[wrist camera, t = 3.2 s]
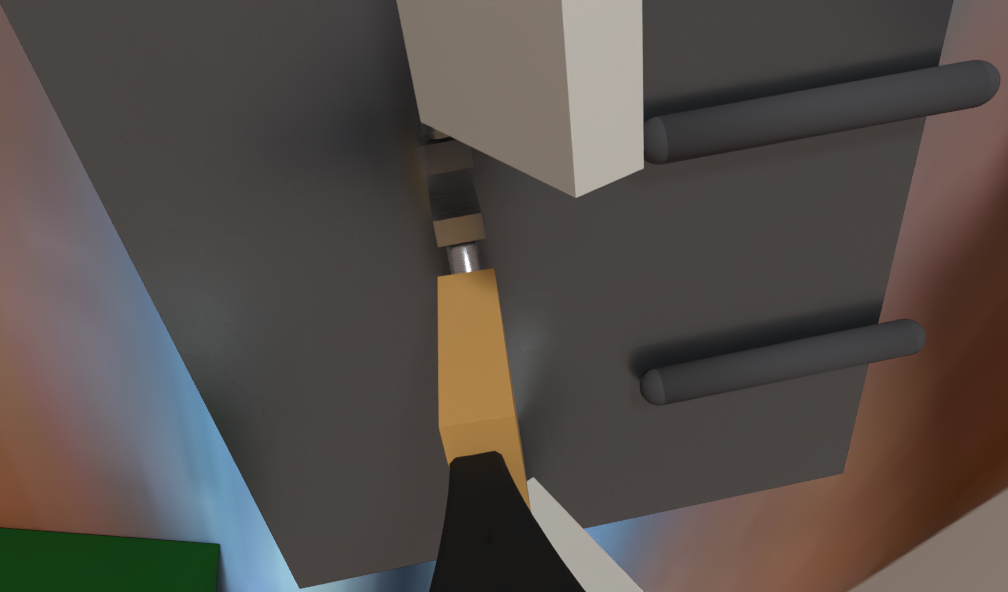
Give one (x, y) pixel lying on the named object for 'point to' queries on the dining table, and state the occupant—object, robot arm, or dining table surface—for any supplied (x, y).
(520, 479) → the orange paddle
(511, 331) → the panel
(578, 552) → the ivory paddle
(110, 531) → the dining table surface
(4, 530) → the milk carton
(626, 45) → the ivory paddle
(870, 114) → the cords
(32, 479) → the dining table surface
